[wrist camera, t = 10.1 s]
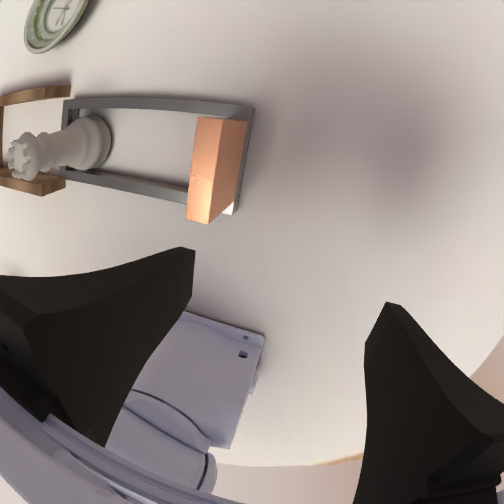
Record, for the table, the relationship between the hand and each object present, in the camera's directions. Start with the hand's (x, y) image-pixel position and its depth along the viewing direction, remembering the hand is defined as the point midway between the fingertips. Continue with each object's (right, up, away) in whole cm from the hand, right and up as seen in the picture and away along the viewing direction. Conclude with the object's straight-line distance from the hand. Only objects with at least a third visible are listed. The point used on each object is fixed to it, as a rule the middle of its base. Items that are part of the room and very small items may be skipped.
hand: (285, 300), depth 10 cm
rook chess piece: (-14, +11, +10) cm, 20 cm away
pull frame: (-9, +9, +9) cm, 16 cm away
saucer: (-18, +24, +5) cm, 30 cm away
